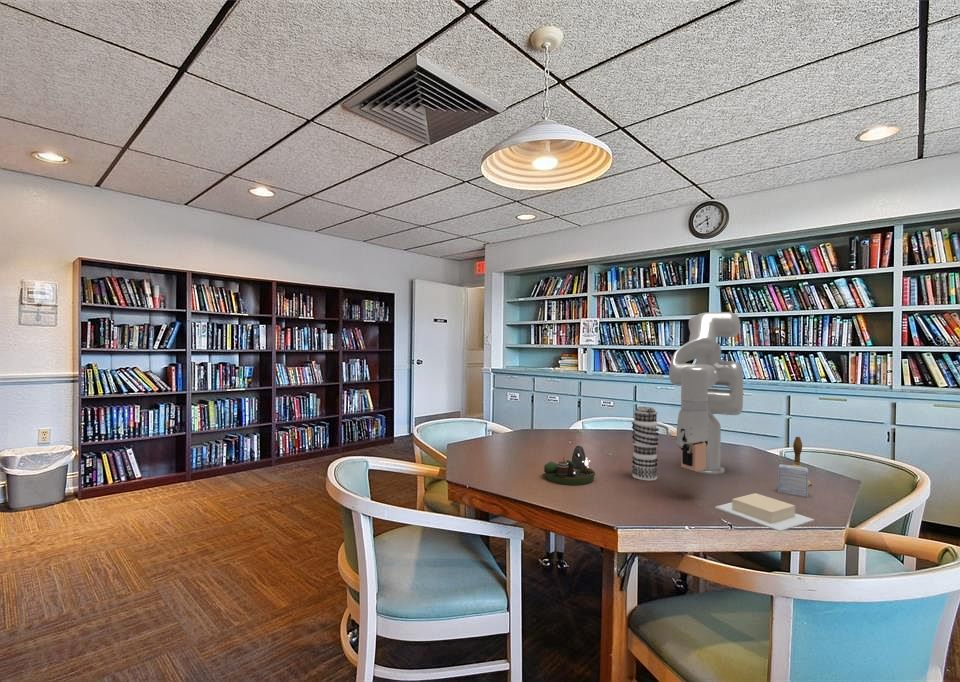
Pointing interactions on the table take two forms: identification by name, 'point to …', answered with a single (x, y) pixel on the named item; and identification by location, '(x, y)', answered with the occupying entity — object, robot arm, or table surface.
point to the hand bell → (798, 453)
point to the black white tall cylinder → (645, 444)
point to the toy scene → (570, 470)
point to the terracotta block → (697, 457)
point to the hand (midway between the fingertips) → (693, 463)
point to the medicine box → (793, 480)
